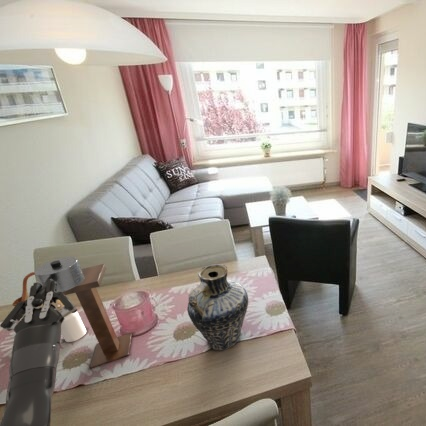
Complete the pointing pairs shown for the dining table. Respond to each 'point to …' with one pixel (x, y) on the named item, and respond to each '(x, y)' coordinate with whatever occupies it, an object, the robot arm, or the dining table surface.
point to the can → (72, 327)
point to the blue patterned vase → (218, 307)
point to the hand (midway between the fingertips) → (45, 282)
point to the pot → (58, 276)
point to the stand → (100, 318)
